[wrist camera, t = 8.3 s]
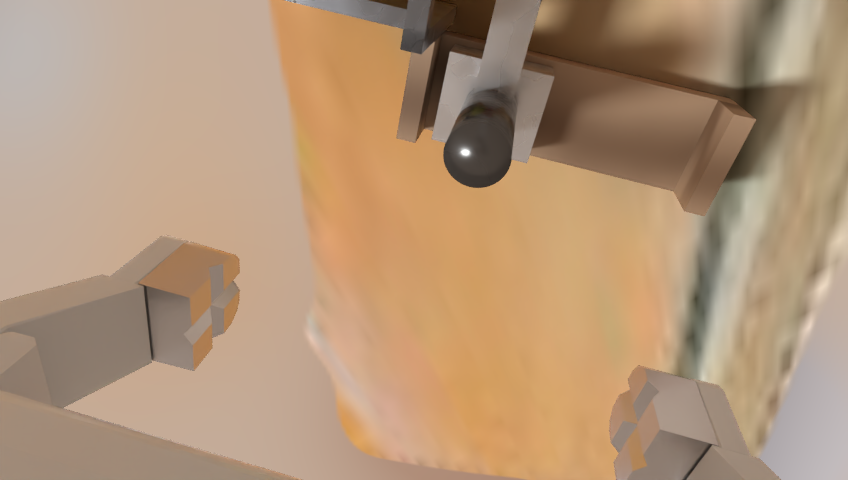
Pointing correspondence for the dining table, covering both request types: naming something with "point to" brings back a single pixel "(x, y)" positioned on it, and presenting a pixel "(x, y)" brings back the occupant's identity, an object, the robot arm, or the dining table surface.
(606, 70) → the track
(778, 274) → the dining table surface
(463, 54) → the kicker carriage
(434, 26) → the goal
